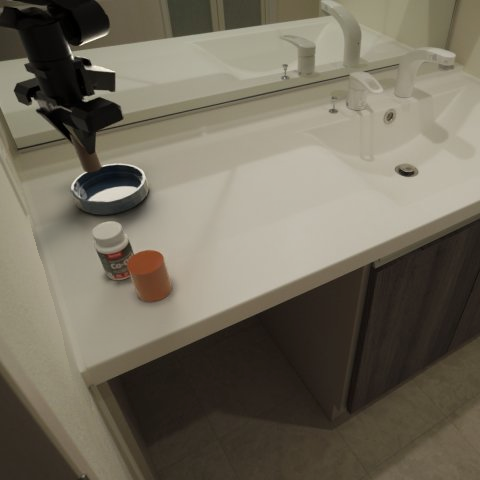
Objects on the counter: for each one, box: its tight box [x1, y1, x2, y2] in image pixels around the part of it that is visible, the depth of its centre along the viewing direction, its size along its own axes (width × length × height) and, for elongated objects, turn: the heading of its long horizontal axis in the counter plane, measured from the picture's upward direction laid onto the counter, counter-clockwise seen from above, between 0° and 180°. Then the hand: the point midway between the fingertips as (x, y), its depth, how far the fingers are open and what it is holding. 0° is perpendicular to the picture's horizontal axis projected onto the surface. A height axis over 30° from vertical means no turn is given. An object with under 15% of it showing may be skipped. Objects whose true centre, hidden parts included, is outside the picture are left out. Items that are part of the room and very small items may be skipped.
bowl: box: [70, 163, 150, 216], centre depth 79 cm, size 13×13×3 cm
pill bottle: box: [91, 221, 135, 281], centre depth 63 cm, size 5×5×8 cm
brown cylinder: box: [69, 132, 103, 172], centre depth 71 cm, size 3×3×7 cm
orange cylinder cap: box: [127, 249, 173, 303], centre depth 62 cm, size 5×5×6 cm
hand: (85, 150), depth 71 cm, fingers closed on brown cylinder, 3 cm apart
